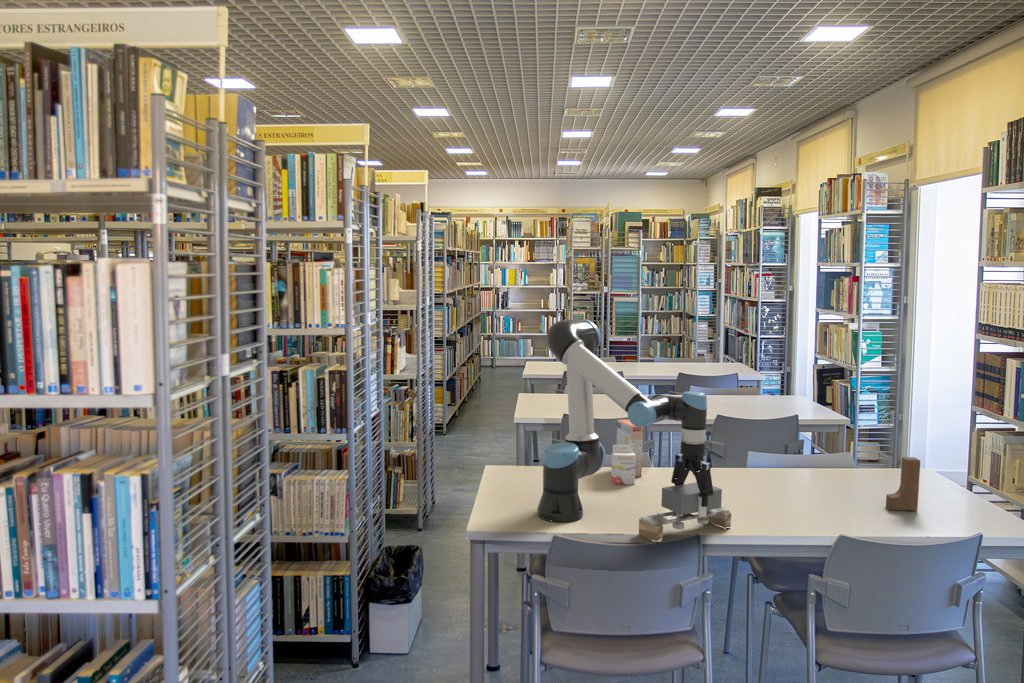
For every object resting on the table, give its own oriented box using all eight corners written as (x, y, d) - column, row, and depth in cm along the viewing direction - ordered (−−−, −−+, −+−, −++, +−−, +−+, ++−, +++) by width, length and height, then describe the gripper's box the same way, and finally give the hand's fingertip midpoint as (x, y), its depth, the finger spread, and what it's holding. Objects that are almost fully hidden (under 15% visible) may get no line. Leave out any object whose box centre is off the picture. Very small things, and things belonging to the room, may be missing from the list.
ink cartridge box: (612, 485, 287) (613, 447, 285) (610, 481, 292) (611, 444, 290) (635, 485, 287) (636, 447, 286) (632, 481, 292) (633, 444, 290)
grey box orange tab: (680, 533, 228) (681, 493, 227) (660, 523, 237) (662, 485, 236) (720, 525, 236) (721, 487, 235) (700, 516, 244) (701, 479, 243)
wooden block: (890, 510, 259) (893, 459, 257) (885, 506, 263) (888, 456, 261) (917, 511, 258) (920, 460, 256) (911, 507, 262) (914, 457, 261)
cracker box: (642, 477, 298) (643, 425, 296) (628, 478, 297) (629, 425, 295) (629, 468, 311) (630, 418, 310) (615, 468, 310) (616, 419, 308)
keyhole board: (656, 543, 225) (656, 524, 224) (638, 534, 232) (639, 516, 232) (730, 528, 239) (731, 510, 238) (712, 520, 246) (712, 503, 246)
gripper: (727, 447, 226) (725, 520, 228) (679, 433, 245) (677, 500, 247) (708, 450, 222) (706, 523, 224) (661, 435, 242) (659, 503, 244)
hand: (690, 511), depth 236 cm, fingers closed on grey box orange tab, 9 cm apart
